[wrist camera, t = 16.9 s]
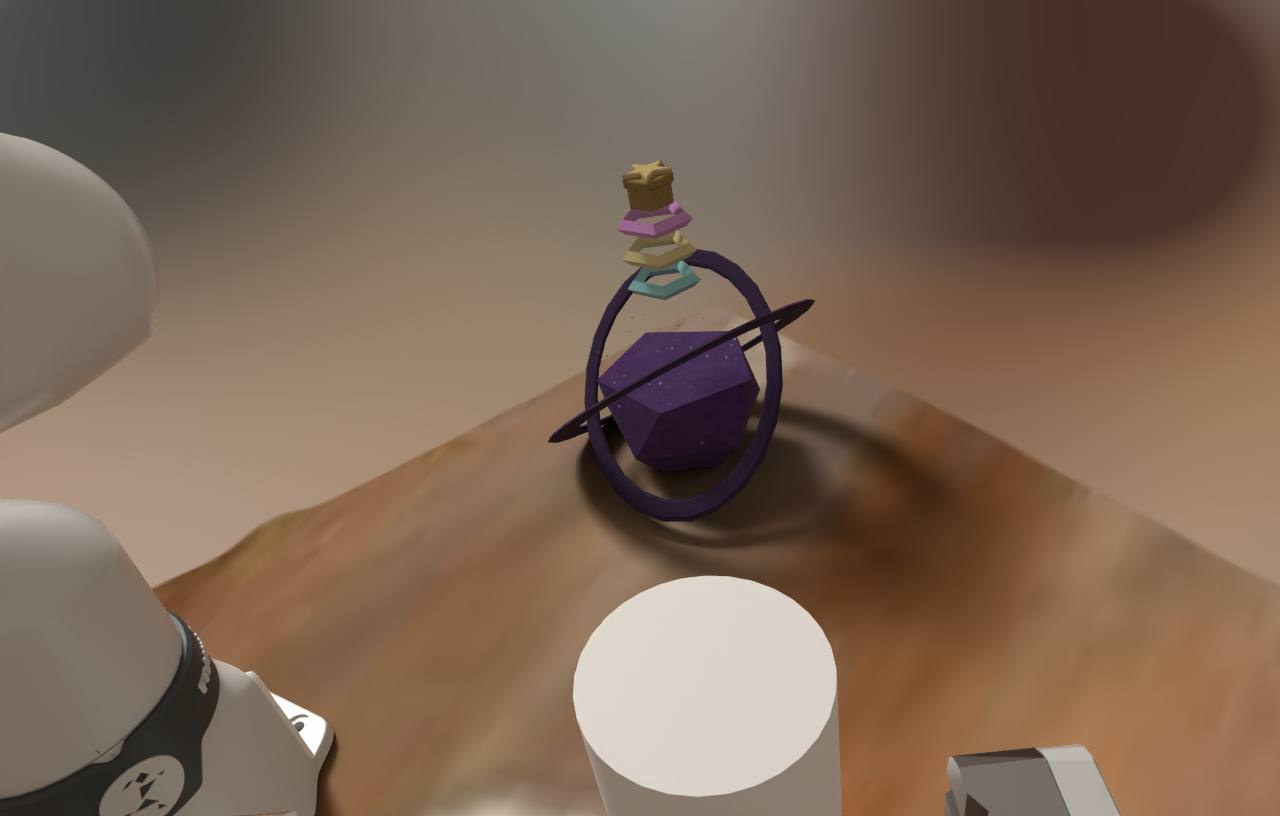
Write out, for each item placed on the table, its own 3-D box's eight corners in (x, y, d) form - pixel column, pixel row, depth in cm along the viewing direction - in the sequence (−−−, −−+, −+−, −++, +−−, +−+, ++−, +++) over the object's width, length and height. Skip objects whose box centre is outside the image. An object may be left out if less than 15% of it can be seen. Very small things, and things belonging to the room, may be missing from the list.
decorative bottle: (713, 354, 86) (682, 102, 72) (874, 443, 71) (874, 144, 57) (521, 456, 77) (441, 190, 63) (658, 582, 62) (594, 268, 48)
